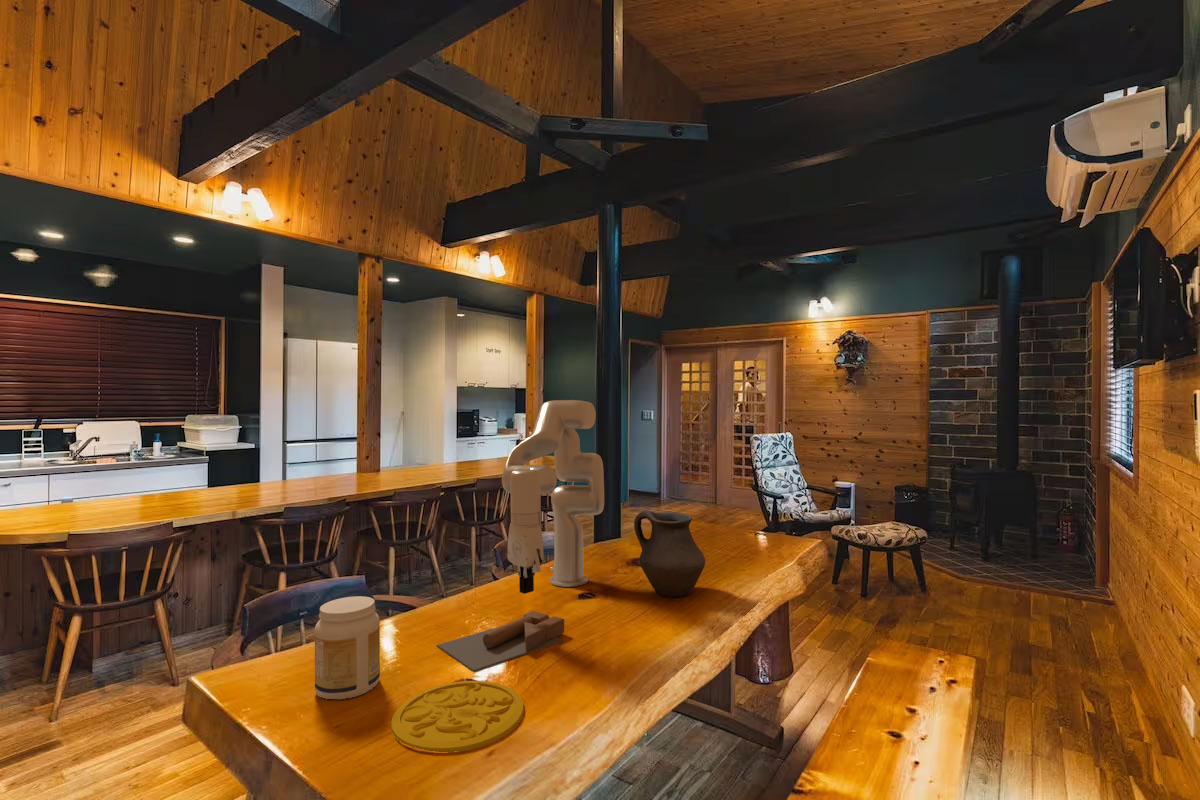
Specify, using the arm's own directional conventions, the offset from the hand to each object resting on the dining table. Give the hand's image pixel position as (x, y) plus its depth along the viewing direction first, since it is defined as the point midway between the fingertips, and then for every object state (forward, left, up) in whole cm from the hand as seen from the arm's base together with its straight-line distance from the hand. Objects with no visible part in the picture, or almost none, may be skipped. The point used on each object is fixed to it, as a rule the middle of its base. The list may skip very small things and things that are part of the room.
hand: (526, 591), depth 143 cm
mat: (0, -8, -11) cm, 13 cm away
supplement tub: (-2, -42, -11) cm, 44 cm away
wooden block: (+1, +6, -9) cm, 11 cm away
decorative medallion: (+23, -30, -12) cm, 40 cm away
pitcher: (+1, +52, -11) cm, 53 cm away
